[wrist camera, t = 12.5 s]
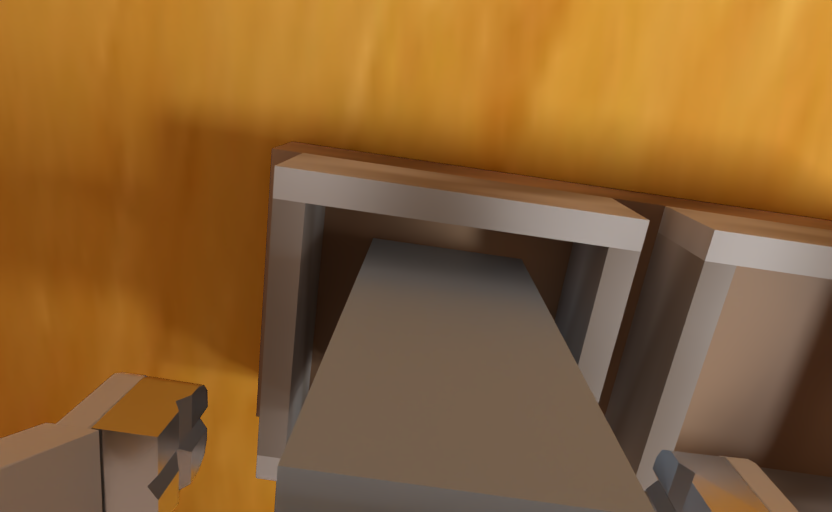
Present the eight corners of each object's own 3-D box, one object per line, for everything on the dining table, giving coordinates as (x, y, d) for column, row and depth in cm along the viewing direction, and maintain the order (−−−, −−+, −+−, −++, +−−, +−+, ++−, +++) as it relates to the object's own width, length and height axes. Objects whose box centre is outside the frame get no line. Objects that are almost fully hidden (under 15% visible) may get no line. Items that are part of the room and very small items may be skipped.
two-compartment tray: (930, 235, 16) (1119, 289, 11) (829, 460, 18) (954, 575, 14) (292, 141, 15) (236, 160, 11) (275, 381, 18) (224, 473, 13)
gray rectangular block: (521, 258, 14) (658, 517, 5) (494, 389, 15) (572, 769, 7) (373, 238, 14) (276, 465, 5) (357, 370, 15) (259, 727, 7)
